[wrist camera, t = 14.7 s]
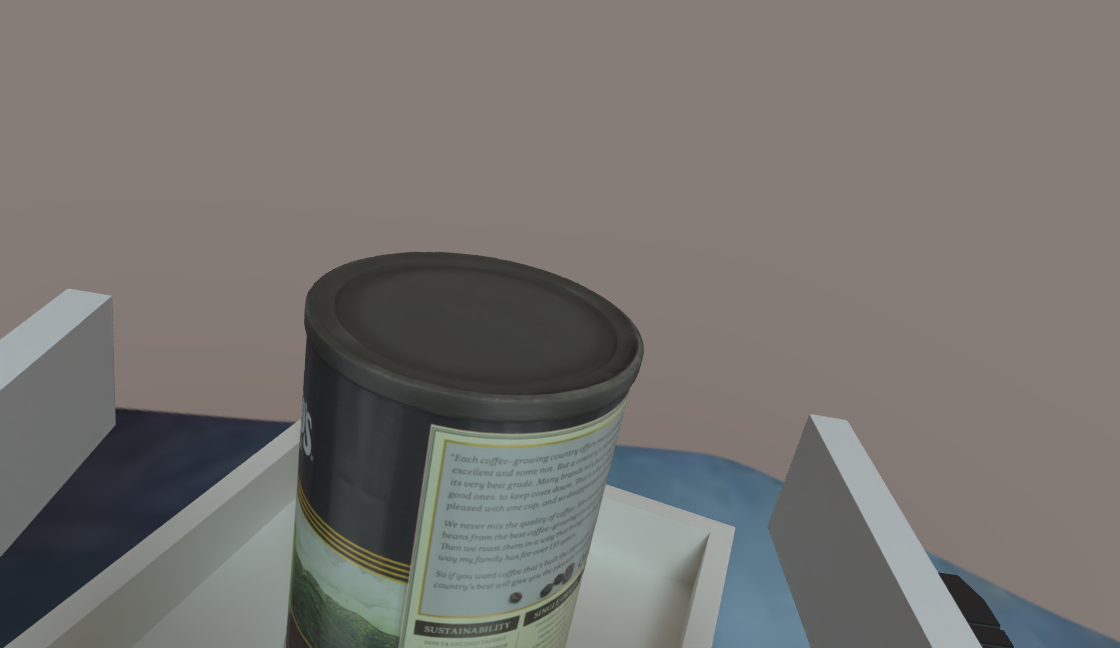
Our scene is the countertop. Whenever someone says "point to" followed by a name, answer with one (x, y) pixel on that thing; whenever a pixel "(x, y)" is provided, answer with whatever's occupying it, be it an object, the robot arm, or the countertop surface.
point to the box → (266, 556)
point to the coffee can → (452, 452)
